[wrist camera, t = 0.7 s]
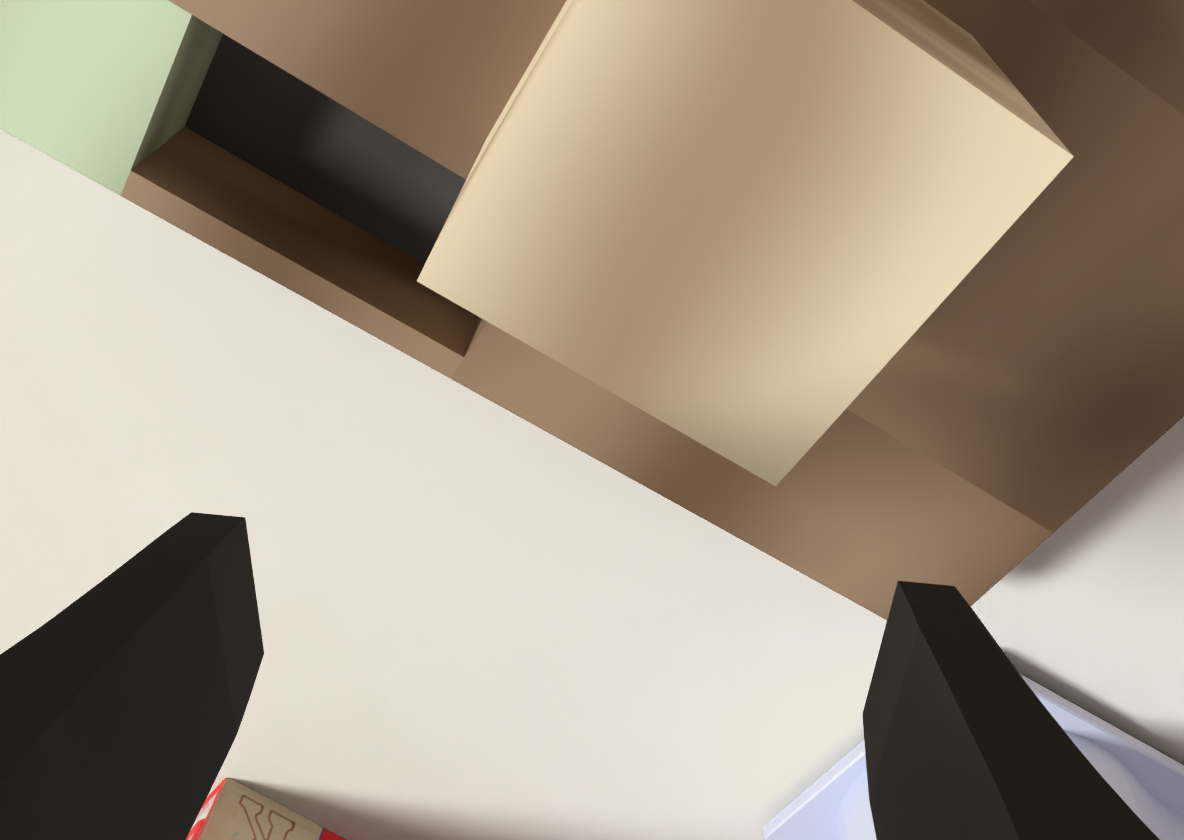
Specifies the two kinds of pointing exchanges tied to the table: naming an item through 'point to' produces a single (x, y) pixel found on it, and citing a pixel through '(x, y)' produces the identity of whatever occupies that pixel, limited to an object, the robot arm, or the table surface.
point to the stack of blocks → (251, 818)
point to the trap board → (581, 407)
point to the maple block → (740, 204)
